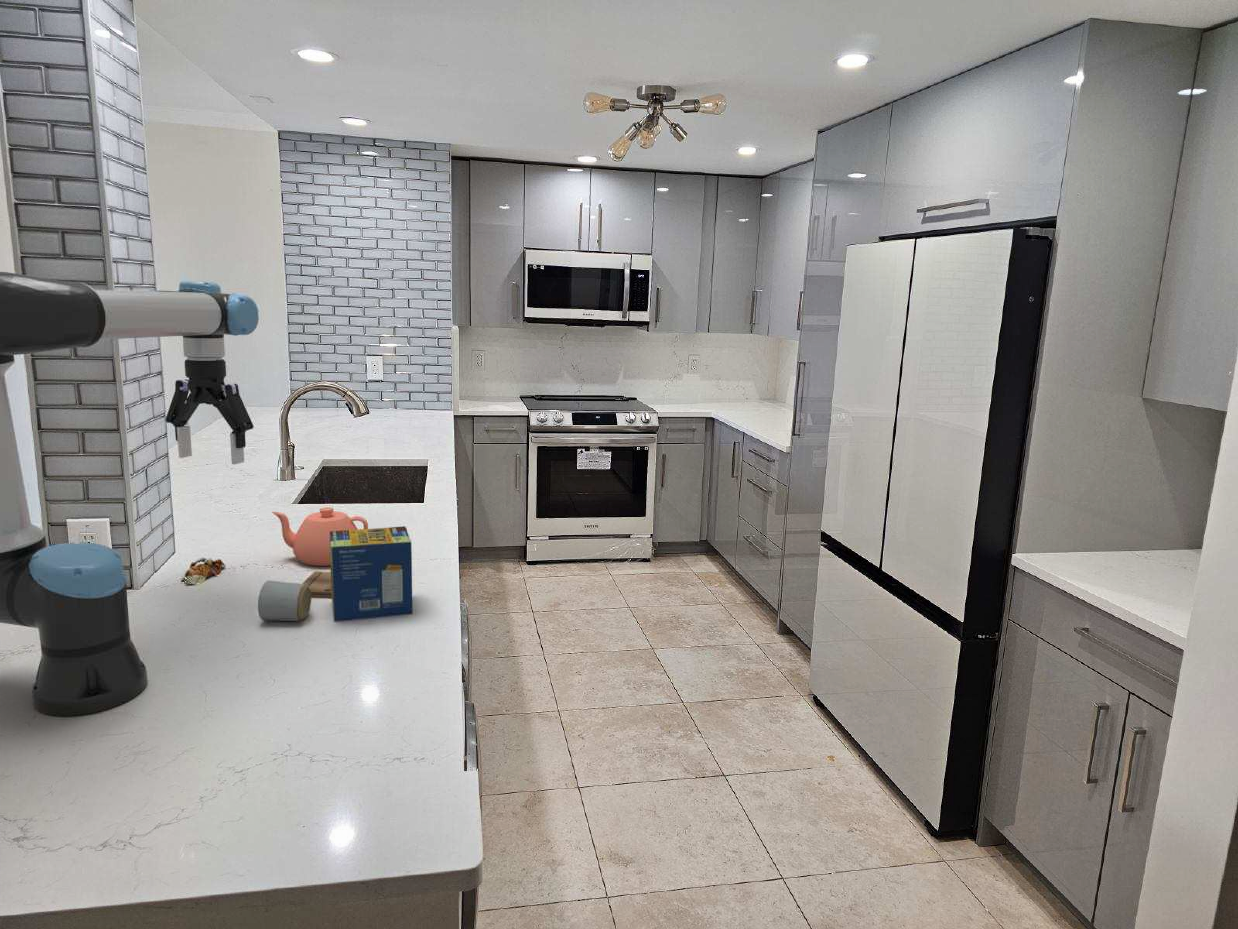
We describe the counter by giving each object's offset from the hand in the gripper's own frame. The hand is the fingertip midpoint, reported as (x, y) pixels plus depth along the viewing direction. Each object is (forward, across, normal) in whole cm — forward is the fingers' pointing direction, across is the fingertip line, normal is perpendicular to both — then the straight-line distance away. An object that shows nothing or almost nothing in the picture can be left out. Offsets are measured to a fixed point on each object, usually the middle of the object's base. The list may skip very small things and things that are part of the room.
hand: (211, 460), depth 168 cm
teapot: (+27, -10, -22) cm, 36 cm away
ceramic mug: (+28, -25, +9) cm, 38 cm away
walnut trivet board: (+27, -22, -6) cm, 35 cm away
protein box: (+27, -38, 0) cm, 47 cm away
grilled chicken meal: (+28, +6, -2) cm, 28 cm away
